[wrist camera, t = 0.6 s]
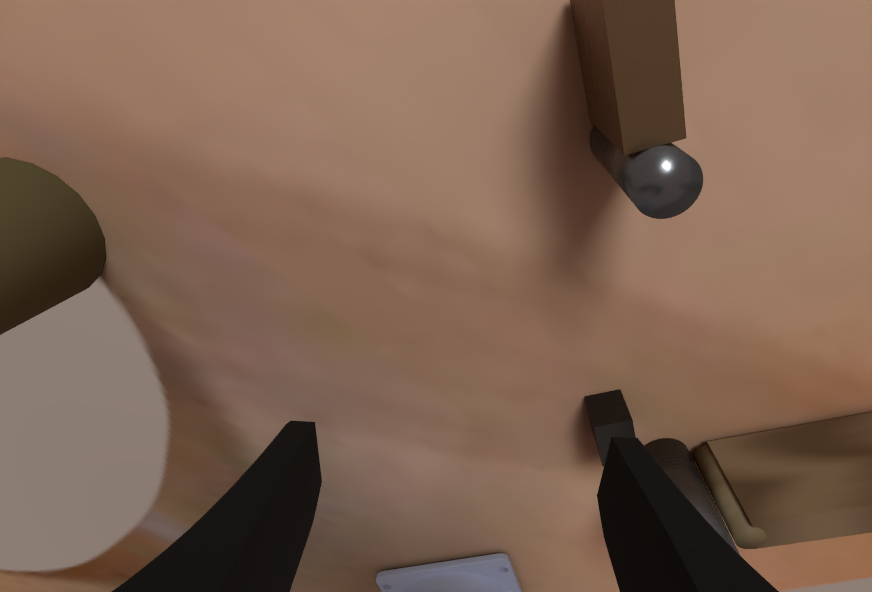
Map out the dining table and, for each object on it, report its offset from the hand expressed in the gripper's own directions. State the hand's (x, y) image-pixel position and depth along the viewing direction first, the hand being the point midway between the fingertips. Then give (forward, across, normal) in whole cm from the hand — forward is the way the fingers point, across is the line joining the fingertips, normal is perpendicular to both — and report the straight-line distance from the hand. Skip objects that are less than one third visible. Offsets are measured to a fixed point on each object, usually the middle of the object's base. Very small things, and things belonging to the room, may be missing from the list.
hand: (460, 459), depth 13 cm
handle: (+10, -18, +7) cm, 21 cm away
